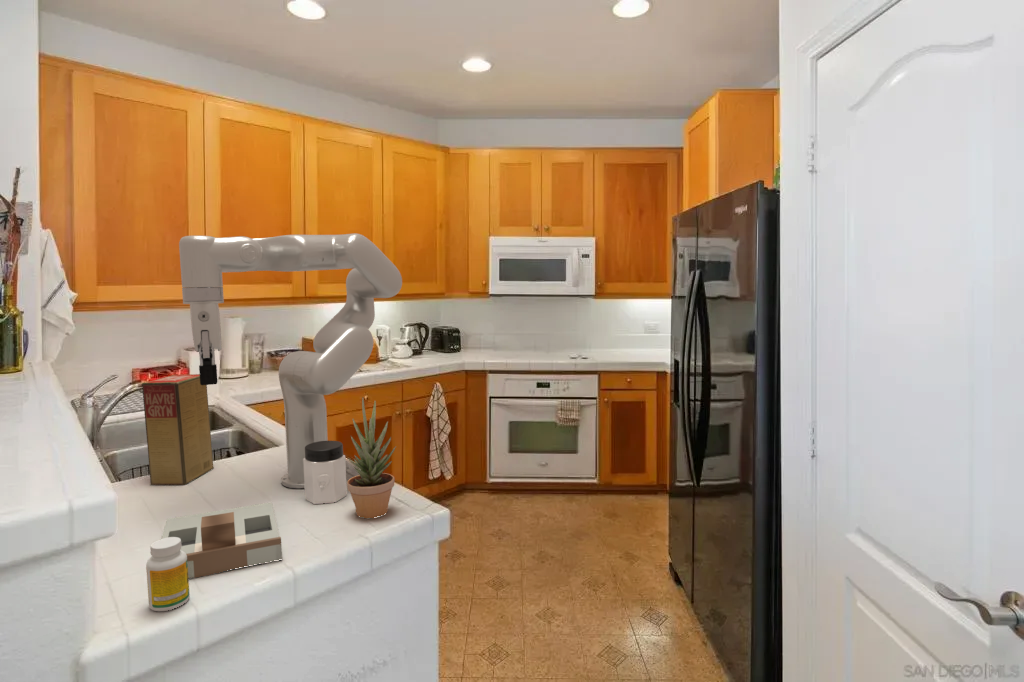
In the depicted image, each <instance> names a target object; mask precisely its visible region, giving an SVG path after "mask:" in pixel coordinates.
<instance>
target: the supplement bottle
mask: <svg viewBox="0 0 1024 682" xmlns="http://www.w3.org/2000/svg"><path fill="white" fill-rule="evenodd" d="M181 547H182V545H181V539H180V538H178V537H168V538H163V539H162V538H160V539H158V540H155V541H153V542H152V543H151V544H150V546H149V548H150V555H151V556H150V557H149V558H148V559H147V561H146V564H145V565H146V567H145V569H146V580H147V581H146V582H147V583H146V584H147V594H148V596H147V597H148V604H149V605H148V606H149V609H151V611H154V612H169V611H173V610H175V609H174V608H176V609H178V608H180V607H182V606H183V604H184V603H185V604H186V603H187V602H188V601H189V599H190V596H191V594H190V583H189V582H190V581H189V580H190V579H188V563H187V555H186V553H185V552H184V551H182V550H181ZM185 604H184V605H185ZM181 605H182V606H181ZM179 606H180V607H179ZM177 607H178V608H177ZM172 609H173V610H172ZM168 610H169V611H168Z"/></svg>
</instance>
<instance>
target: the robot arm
mask: <svg viewBox="0 0 1024 682" xmlns="http://www.w3.org/2000/svg"><path fill="white" fill-rule="evenodd" d="M178 250H179V263H180V276H181V278H180V279H181V289H182V290H181V292H182V293H181V294H182V304H183V305H189V309H190V310H189V312H190V322H191V324H190V325H191V326H190V327H191V332H192V333H191V334H192V341H193V347H194V351H196V353H198V355H199V356H198V357H199V365H198V370H199V373H198V374H200V384H201V385H207V386H208V385H209V386H210V385H217V384H218V369H217V367H218V366H217V363H216V356H215V355H216V354H215V351H216V349H217V351H218V352H220V351H221V350H222V349H223V348H222V347H223V345H222V344H223V343H222V330H221V328H222V327H221V317H220V316H221V315H220V308H219V306H220V305H219V304H224V303H225V302H224V301H225V299H224V297H225V296H224V286H223V285H224V284H223V273H243V272H245V273H246V272H257V271H259V272H260V271H262V272H263V271H267V272H268V271H269V272H270V271H271V272H285V273H287V272H308V271H309V272H310V271H311V272H312V271H328V270H331V271H332V270H347V269H350V271H349V272H348V274H347V276H346V280H345V288H346V289H345V290H346V301H345V303H344V305H343V307H341V309H340V310H339V311H338V312H336V314H335V315H334V316H332V318H331V319H330V320H329V321H328V322H327V323H326V324H325V325H323V327H321V329H319V331H317V333H316V334H315V336H314V338H313V343H312V344H313V349H314V351H307V350H296V351H293V352H291V353H289V354H286V355H285V356H284V358H282V360H281V361H280V364H279V366H278V367H279V368H278V381H279V385H280V388H281V392H282V397H283V398H282V400H283V406H284V408H283V409H284V424H285V425H284V428H285V444H286V464H287V466H286V467H287V473H285V474H284V475H283V476H282V477H281V479H280V482H281V485H282V486H284V487H286V488H290V489H305V485H304V464H303V459H304V458H305V446H306V445H308V444H311V443H314V442H319V441H329V438H328V421H327V420H328V419H327V416H328V415H327V404H326V403H327V402H326V399H325V396H326V395H327V396H329V395H331V394H335V392H337V391H339V390H340V389H342V387H343V386H345V384H346V383H347V382H349V380H350V379H352V377H353V376H354V375H355V374H356V373H357V372H358V371H359V370H360V369H361V368H362V366H363V365H364V364H365V363H366V362H367V360H368V359H369V358H370V356H371V354H372V352H373V349H374V336H373V334H372V332H371V331H370V328H371V327H372V325H373V323H374V322H375V318H376V317H375V315H376V314H375V310H376V309H375V300H374V299H388V298H392V297H395V296H396V295H397V294H399V292H400V291H401V289H402V286H403V277H402V274H401V272H400V270H399V269H398V268H397V266H396V265H395V264H394V263H393V261H392V260H390V259H389V258H388V256H386V255H385V254H384V252H383V251H382V250H381V249H380V248H379V247H378V246H377V245H376V244H375V243H374V242H373V241H371V240H370V239H369V238H368V237H366V236H364V235H363V234H360V233H355V232H354V233H346V234H286V235H285V234H283V235H277V236H273V237H272V236H271V237H260V238H251V237H248V236H243V235H239V236H227V237H214V236H210V235H185V236H182V237H181V238H180V240H179V242H178ZM324 395H325V396H324ZM345 462H346V470H347V469H349V468H350V465H349V460H345Z"/></svg>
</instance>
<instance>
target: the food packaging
mask: <svg viewBox="0 0 1024 682" xmlns="http://www.w3.org/2000/svg"><path fill="white" fill-rule="evenodd" d="M141 388H142V397H143V398H142V399H143V400H142V401H143V412H144V423H145V433H146V443H147V456H148V467H149V468H148V469H149V470H148V471H149V481H150V482H149V485H150V486H185V484H186V485H188V484H189V482H190V483H192V481H195V480H196V479H198V478H200V477H201V475H202V476H203V475H205V474H207V473H209V472H210V471H212V470H213V469H215V468H214V459H213V449H212V447H213V446H212V435H211V434H212V433H211V423H210V422H211V421H210V410H209V409H210V407H209V397H208V385H201V384H200V373H198V374H197V373H195V374H172V375H170V376H165V377H162V378H159V379H154V380H151V381H146V382H142V383H141ZM211 469H212V470H211ZM208 471H209V472H208ZM206 472H207V473H206ZM199 476H200V477H199ZM194 479H195V480H194ZM187 483H188V484H187Z"/></svg>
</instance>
